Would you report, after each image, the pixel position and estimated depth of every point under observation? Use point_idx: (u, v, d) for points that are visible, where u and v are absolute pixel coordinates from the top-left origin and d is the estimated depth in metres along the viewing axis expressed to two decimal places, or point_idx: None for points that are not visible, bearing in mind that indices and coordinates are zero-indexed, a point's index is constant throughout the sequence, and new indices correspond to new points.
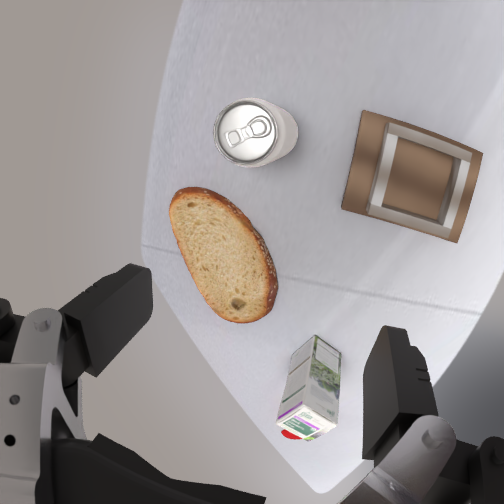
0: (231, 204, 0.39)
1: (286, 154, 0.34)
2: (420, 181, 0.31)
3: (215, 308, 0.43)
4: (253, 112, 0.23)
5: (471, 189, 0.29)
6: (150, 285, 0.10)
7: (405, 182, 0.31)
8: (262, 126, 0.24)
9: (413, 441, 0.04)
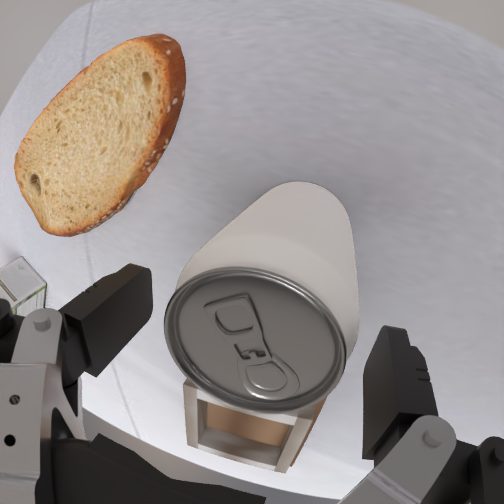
0: (160, 152, 0.19)
1: None
2: (245, 419, 0.26)
3: (19, 156, 0.20)
4: (308, 371, 0.09)
5: None
6: (150, 285, 0.10)
7: None
8: (269, 383, 0.09)
9: (413, 441, 0.04)
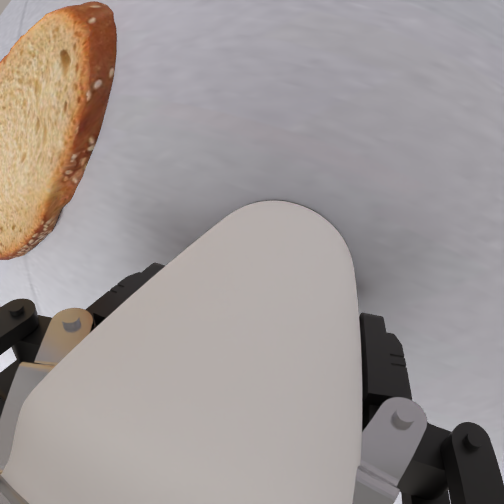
0: (84, 156, 0.13)
1: None
2: None
3: None
4: None
5: None
6: None
7: None
8: None
9: (382, 424, 0.05)
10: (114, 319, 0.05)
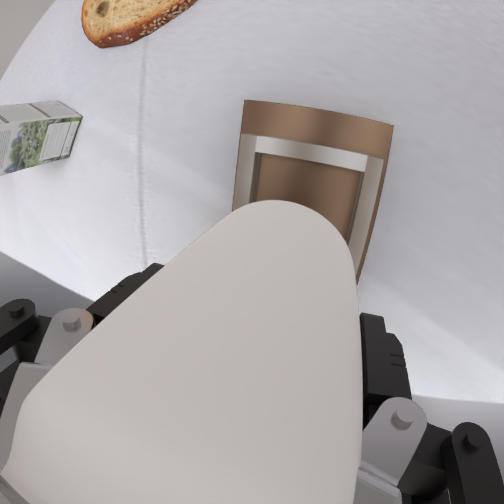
0: None
1: None
2: None
3: None
4: None
5: None
6: None
7: (296, 188, 0.24)
8: None
9: (382, 424, 0.05)
10: (114, 318, 0.05)
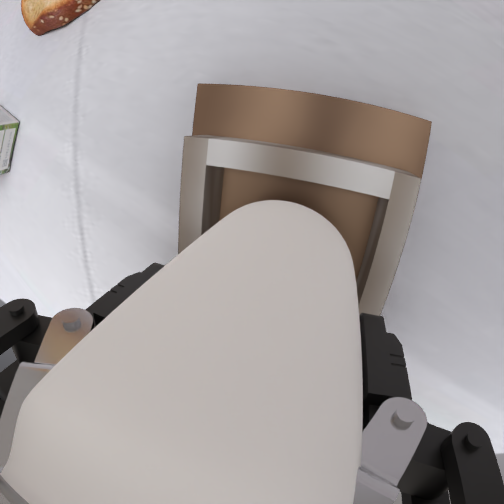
0: None
1: None
2: None
3: None
4: None
5: None
6: None
7: None
8: None
9: (382, 424, 0.05)
10: (114, 318, 0.05)
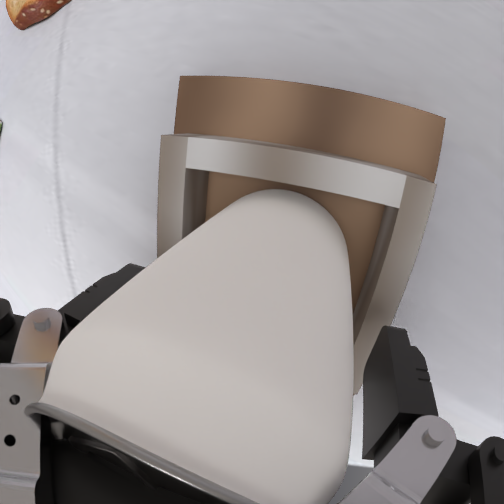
0: None
1: None
2: None
3: None
4: None
5: None
6: None
7: None
8: None
9: (413, 441, 0.04)
10: (142, 273, 0.06)
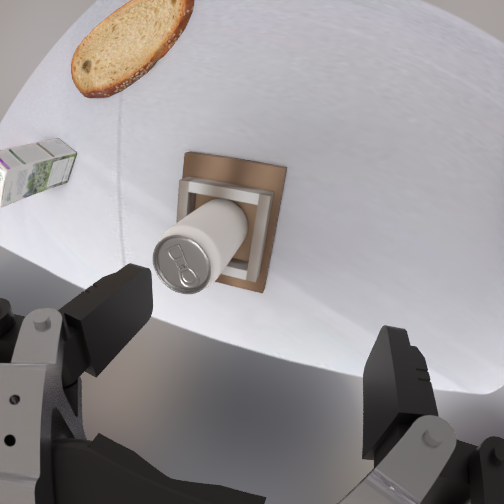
0: (176, 36, 0.30)
1: None
2: None
3: (79, 48, 0.30)
4: (201, 272, 0.26)
5: (226, 281, 0.40)
6: (150, 285, 0.10)
7: None
8: (189, 279, 0.27)
9: (413, 441, 0.04)
10: (180, 220, 0.28)
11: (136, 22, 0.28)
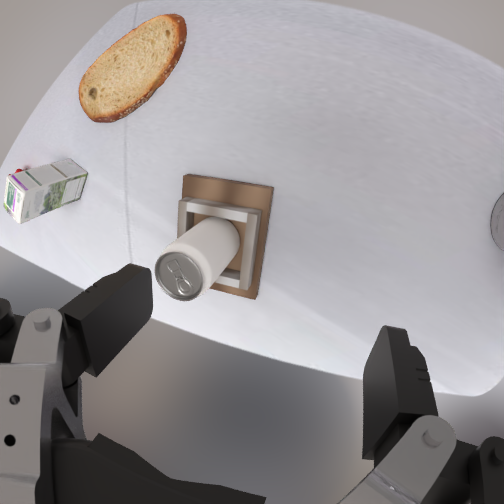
0: (172, 67, 0.35)
1: None
2: None
3: (85, 76, 0.36)
4: (195, 283, 0.31)
5: (223, 289, 0.44)
6: (150, 285, 0.10)
7: None
8: (185, 288, 0.31)
9: (413, 441, 0.04)
10: (178, 238, 0.33)
11: (135, 53, 0.34)
